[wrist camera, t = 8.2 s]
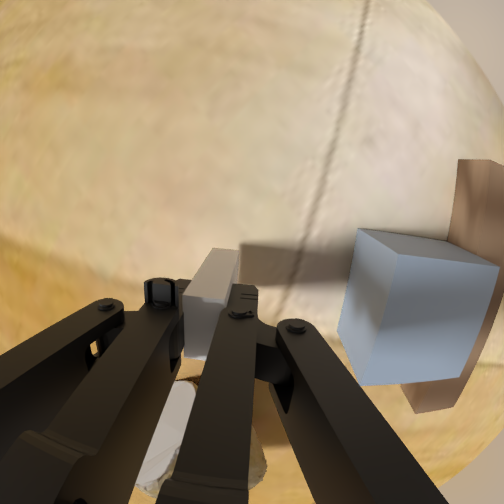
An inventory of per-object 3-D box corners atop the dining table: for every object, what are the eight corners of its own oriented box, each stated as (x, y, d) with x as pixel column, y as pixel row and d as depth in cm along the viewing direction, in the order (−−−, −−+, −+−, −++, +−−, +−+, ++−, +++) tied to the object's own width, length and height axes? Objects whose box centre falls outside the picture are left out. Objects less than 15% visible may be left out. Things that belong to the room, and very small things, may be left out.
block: (357, 227, 17) (398, 254, 11) (445, 241, 17) (499, 267, 11) (336, 329, 19) (359, 385, 13) (420, 331, 19) (459, 377, 13)
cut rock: (147, 389, 12) (268, 525, 10) (218, 350, 22) (292, 443, 20) (67, 439, 14) (158, 544, 11) (144, 400, 23) (208, 480, 21)
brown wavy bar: (458, 159, 15) (490, 159, 12) (494, 172, 15) (525, 175, 12) (400, 386, 20) (415, 414, 17) (436, 382, 20) (453, 407, 17)
